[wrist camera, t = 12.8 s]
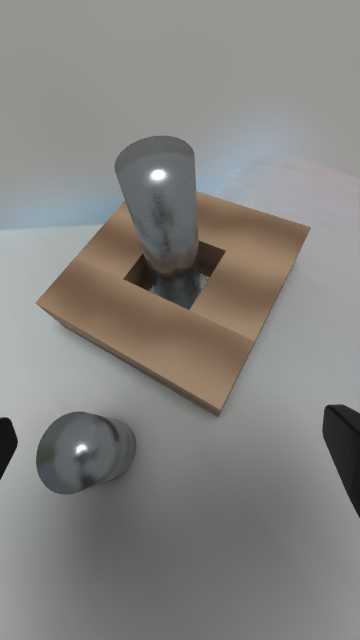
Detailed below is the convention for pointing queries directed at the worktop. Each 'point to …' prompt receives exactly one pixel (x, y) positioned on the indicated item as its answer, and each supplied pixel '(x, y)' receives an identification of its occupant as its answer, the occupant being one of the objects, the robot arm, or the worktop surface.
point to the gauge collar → (169, 318)
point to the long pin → (164, 213)
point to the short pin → (83, 452)
